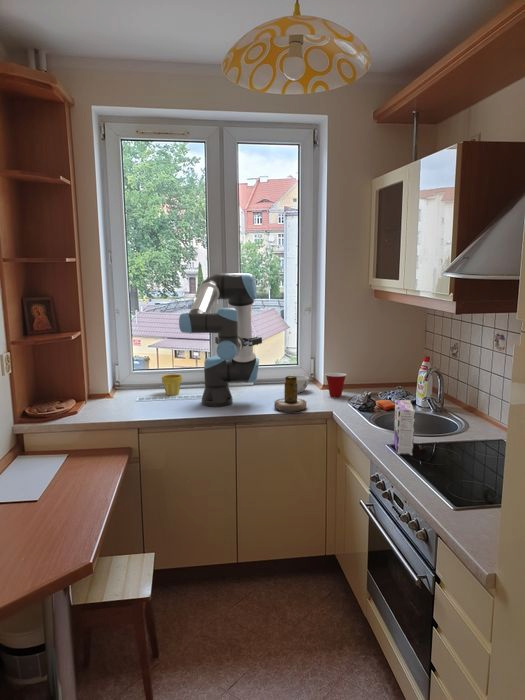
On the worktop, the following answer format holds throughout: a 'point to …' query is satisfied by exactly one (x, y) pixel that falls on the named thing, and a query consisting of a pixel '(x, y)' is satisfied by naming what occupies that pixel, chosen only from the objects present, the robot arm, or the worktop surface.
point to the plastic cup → (335, 383)
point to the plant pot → (172, 383)
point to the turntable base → (290, 411)
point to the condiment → (291, 390)
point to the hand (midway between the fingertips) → (241, 337)
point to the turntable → (287, 407)
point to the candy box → (404, 427)
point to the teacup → (301, 382)
